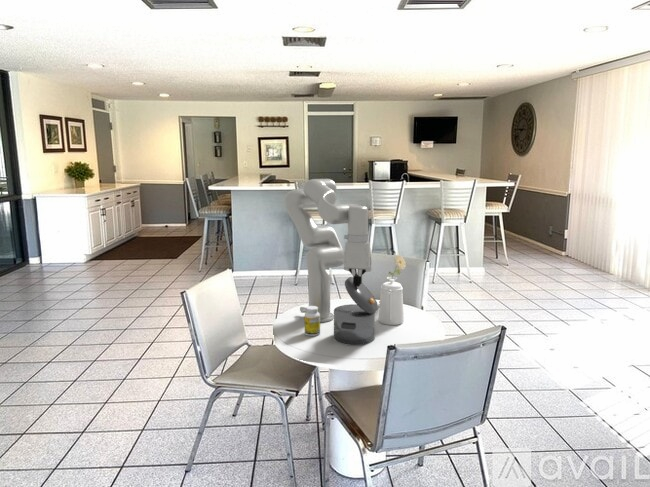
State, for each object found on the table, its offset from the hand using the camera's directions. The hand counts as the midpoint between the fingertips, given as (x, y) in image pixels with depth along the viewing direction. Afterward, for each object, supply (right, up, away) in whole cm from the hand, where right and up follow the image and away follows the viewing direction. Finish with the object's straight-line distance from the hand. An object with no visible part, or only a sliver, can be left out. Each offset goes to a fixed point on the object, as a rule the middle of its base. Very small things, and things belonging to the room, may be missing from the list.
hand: (357, 285), depth 182 cm
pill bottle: (-18, -20, +8) cm, 28 cm away
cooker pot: (-1, -21, +4) cm, 21 cm away
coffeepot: (+16, -18, +22) cm, 32 cm away
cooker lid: (+1, -4, 0) cm, 4 cm away
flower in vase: (+20, -14, +44) cm, 50 cm away
